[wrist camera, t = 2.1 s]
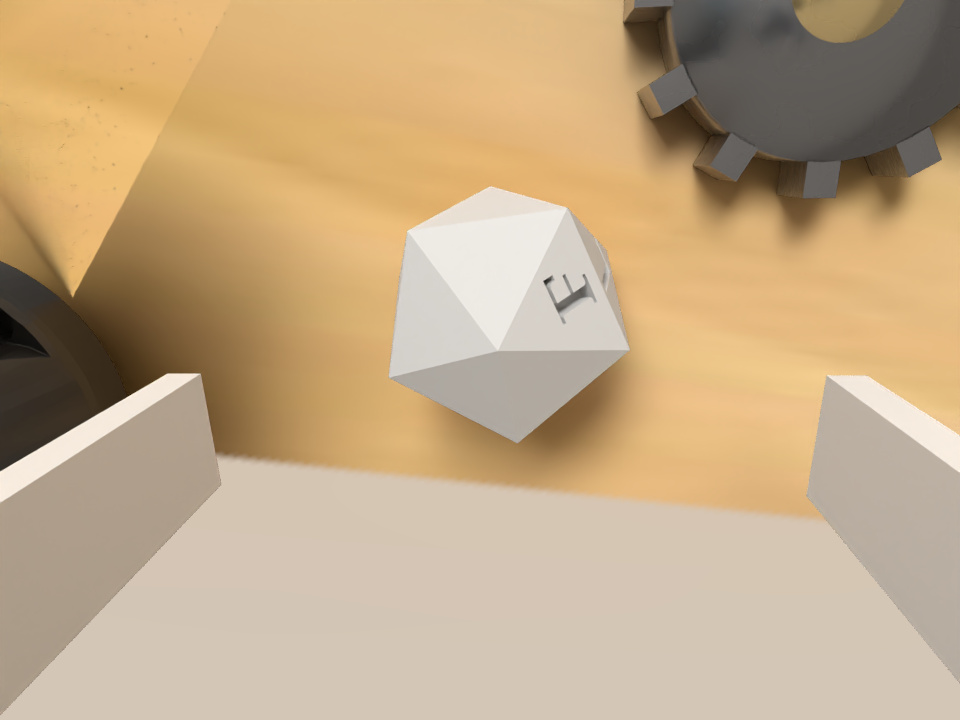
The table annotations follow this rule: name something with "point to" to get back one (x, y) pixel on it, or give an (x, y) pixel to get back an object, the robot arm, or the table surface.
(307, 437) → the table surface
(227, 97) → the table surface
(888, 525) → the robot arm
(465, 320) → the die
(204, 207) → the table surface
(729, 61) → the gear plate
